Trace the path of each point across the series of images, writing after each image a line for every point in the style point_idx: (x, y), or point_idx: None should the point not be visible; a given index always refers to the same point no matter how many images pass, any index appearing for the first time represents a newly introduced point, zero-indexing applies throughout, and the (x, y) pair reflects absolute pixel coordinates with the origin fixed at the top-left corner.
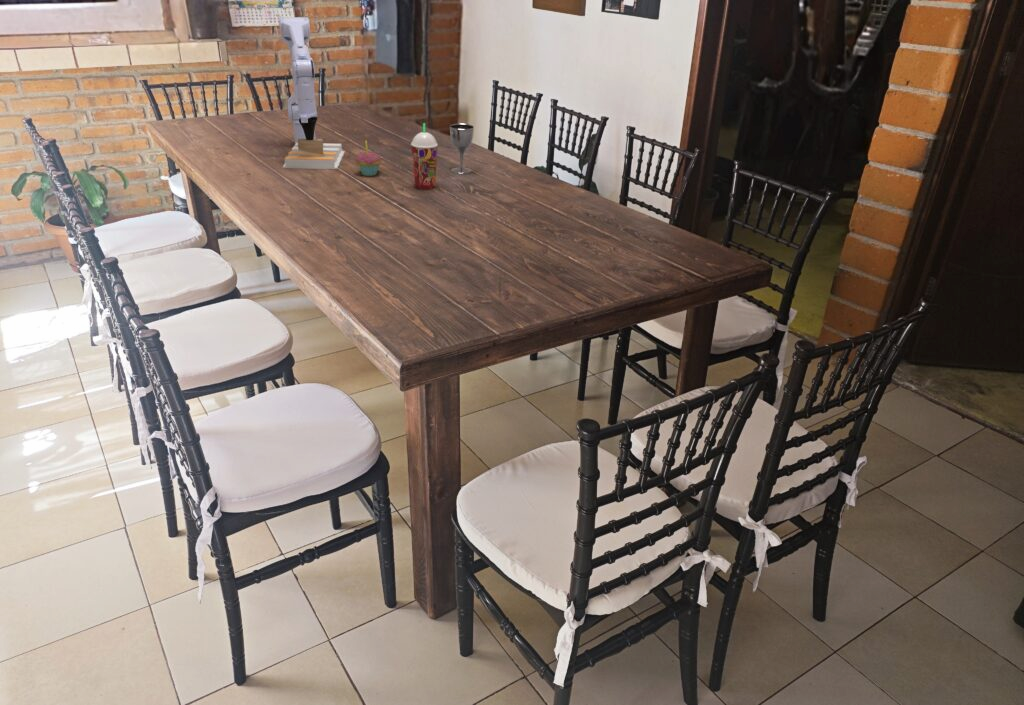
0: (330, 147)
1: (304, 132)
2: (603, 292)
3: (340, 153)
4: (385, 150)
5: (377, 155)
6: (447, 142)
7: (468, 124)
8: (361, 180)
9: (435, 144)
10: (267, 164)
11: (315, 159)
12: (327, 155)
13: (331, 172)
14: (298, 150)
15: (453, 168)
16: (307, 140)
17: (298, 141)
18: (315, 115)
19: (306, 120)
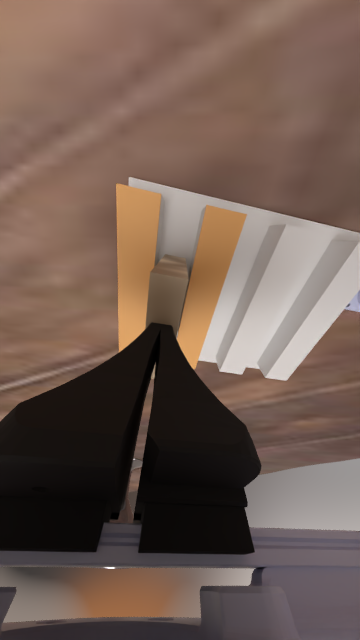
0: (276, 353)
1: (129, 344)
2: None
3: (251, 362)
4: (255, 419)
5: None
6: (266, 467)
7: (126, 567)
8: (53, 379)
9: None
10: (197, 77)
11: (118, 314)
12: None
13: (100, 334)
14: (269, 256)
15: (138, 460)
16: (146, 325)
17: (150, 275)
18: (54, 622)
19: None
